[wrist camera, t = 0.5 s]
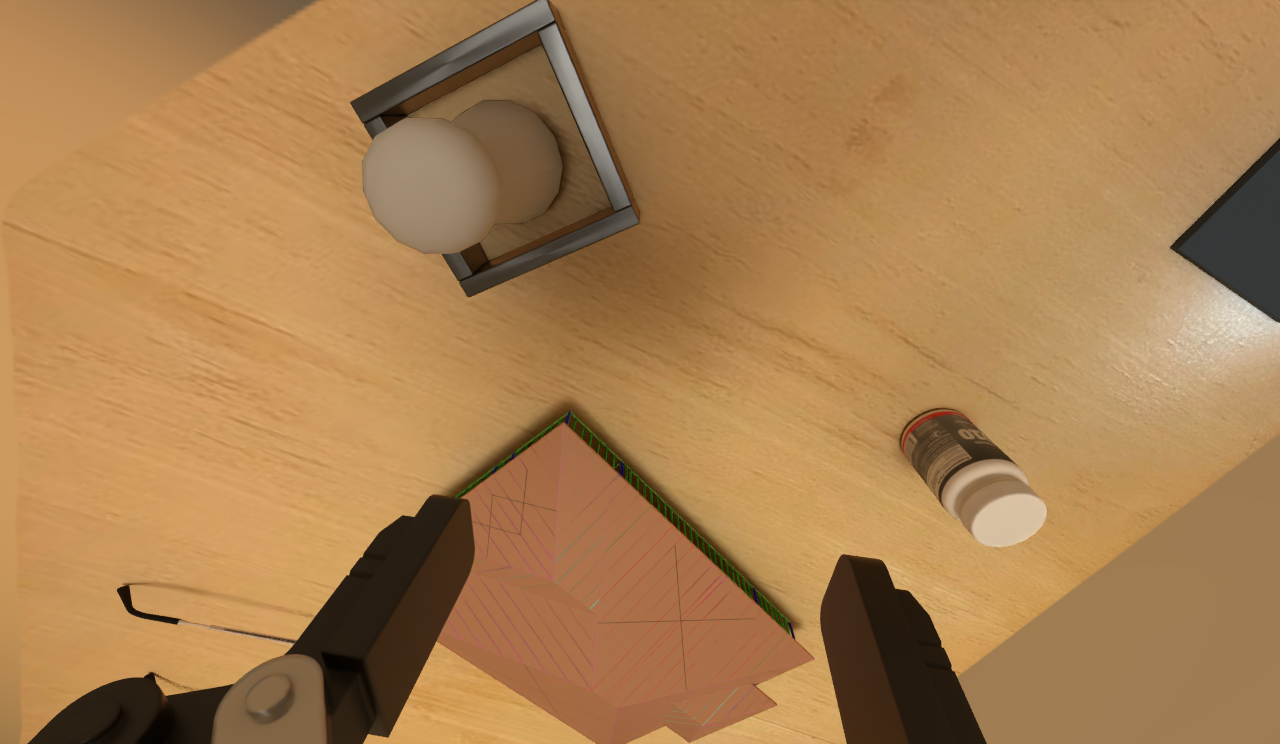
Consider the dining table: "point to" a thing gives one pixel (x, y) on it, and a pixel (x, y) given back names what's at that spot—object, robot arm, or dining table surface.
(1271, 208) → the mat
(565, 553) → the house
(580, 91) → the holder stand
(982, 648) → the dining table surface
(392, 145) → the salt shaker
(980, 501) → the pill bottle
